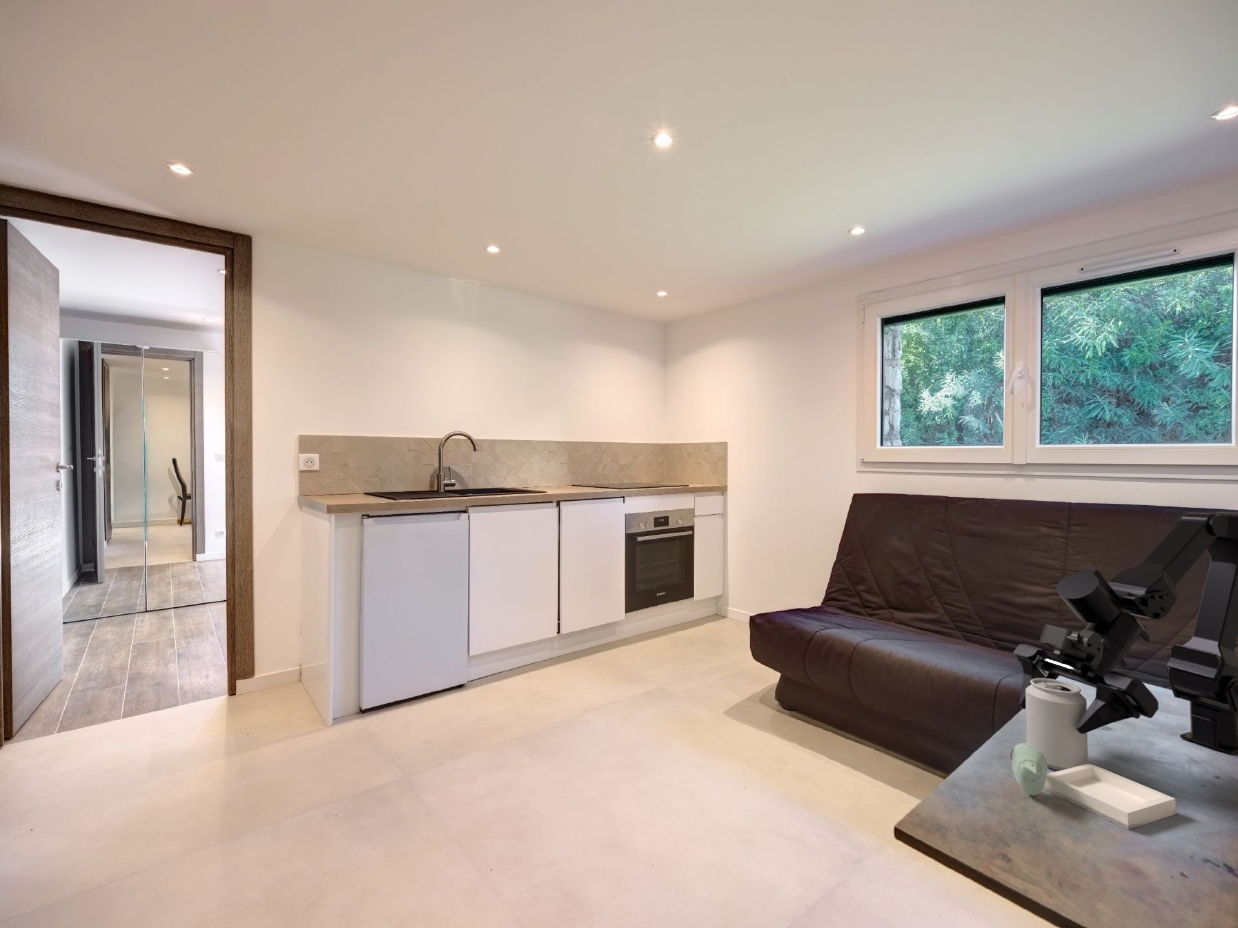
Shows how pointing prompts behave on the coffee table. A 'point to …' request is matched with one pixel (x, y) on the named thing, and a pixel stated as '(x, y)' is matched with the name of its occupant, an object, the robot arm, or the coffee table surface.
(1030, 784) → the green oval piece
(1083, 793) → the tray
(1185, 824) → the coffee table surface
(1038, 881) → the coffee table surface
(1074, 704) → the can
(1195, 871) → the coffee table surface
